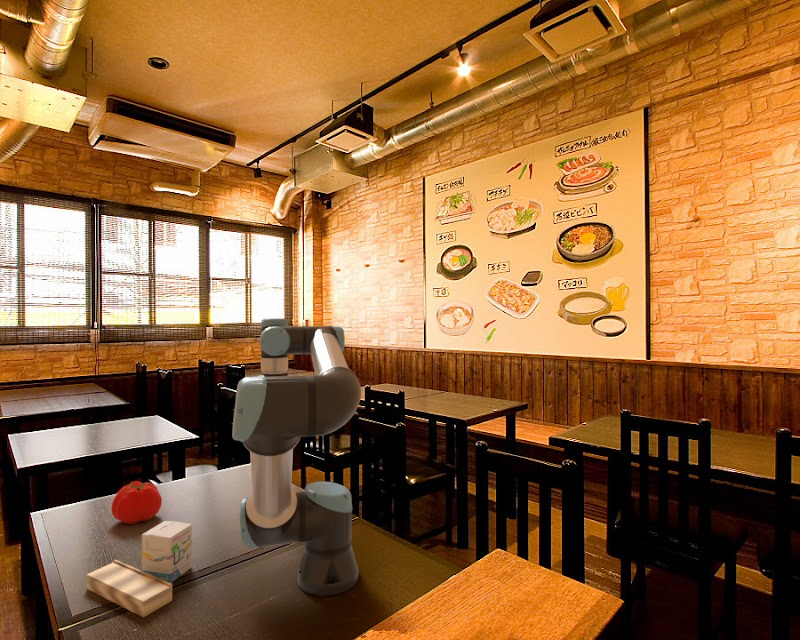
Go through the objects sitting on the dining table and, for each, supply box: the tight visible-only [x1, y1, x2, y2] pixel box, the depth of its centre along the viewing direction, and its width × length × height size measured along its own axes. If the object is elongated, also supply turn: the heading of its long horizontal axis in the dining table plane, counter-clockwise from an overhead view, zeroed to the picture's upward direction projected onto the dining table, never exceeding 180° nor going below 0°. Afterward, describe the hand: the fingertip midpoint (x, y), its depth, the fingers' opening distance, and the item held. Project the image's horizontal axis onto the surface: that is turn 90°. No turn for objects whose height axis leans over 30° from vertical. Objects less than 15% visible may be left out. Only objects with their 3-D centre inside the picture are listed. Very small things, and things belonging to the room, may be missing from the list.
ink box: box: [141, 520, 193, 584], centre depth 121 cm, size 8×8×12 cm
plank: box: [86, 559, 173, 618], centre depth 112 cm, size 22×7×4 cm, turn 62°
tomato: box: [110, 480, 163, 525], centre depth 152 cm, size 13×14×12 cm
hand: (274, 454), depth 136 cm, fingers closed
